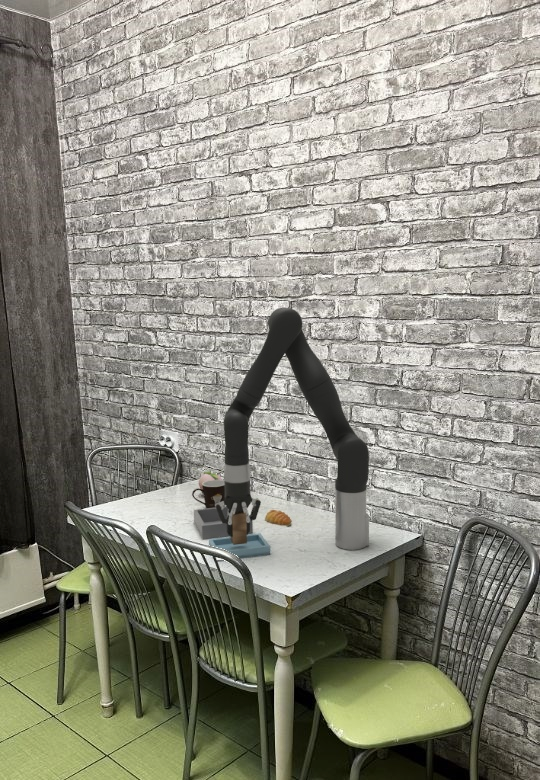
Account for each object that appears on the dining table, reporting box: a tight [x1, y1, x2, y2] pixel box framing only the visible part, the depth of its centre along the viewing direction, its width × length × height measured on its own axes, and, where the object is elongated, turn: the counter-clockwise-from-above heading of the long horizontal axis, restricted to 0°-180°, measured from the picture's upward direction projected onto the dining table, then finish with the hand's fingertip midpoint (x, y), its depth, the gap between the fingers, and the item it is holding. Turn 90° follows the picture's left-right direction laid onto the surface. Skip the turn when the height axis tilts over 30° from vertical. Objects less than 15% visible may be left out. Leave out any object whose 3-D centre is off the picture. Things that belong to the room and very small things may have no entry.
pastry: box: [264, 509, 292, 527], centre depth 209 cm, size 9×7×4 cm
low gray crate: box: [193, 505, 254, 541], centre depth 203 cm, size 16×16×5 cm
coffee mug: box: [191, 479, 226, 509], centre depth 222 cm, size 12×9×10 cm
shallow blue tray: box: [208, 533, 271, 559], centre depth 186 cm, size 16×11×2 cm
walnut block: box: [229, 512, 247, 545], centre depth 185 cm, size 4×4×9 cm
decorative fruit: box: [198, 470, 223, 489], centre depth 239 cm, size 9×8×10 cm
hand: (238, 534), depth 185 cm, fingers closed on walnut block, 4 cm apart
